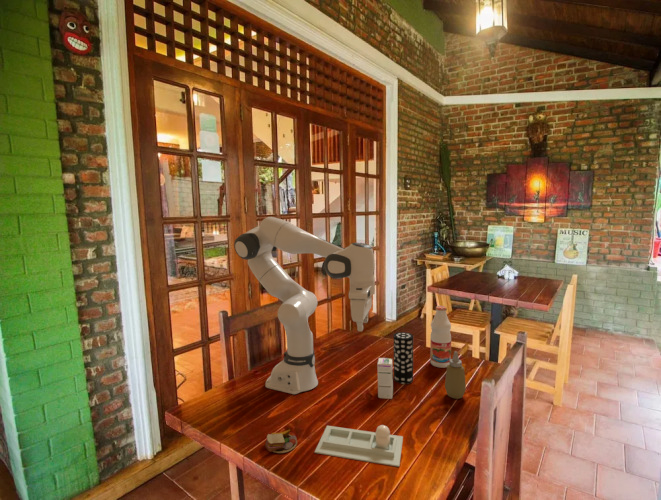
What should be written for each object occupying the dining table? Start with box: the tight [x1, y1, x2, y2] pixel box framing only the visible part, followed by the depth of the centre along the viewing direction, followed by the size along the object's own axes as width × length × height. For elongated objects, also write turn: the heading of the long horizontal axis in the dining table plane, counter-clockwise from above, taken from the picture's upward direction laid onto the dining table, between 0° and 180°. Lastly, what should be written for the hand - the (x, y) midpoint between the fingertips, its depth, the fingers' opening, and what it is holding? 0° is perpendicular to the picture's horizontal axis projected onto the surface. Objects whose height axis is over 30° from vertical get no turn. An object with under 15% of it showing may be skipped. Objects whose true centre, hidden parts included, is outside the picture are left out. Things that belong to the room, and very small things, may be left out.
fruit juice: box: [429, 305, 452, 369], centre depth 173 cm, size 9×9×28 cm
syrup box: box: [376, 357, 394, 400], centre depth 146 cm, size 6×6×14 cm
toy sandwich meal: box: [265, 429, 298, 454], centre depth 117 cm, size 9×10×4 cm
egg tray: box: [314, 425, 404, 468], centre depth 116 cm, size 26×14×2 cm, turn 74°
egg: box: [375, 424, 391, 450], centre depth 114 cm, size 4×4×7 cm
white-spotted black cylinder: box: [393, 331, 414, 385], centre depth 158 cm, size 8×8×20 cm
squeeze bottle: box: [444, 351, 467, 400], centre depth 144 cm, size 8×8×18 cm
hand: (362, 326), depth 130 cm, fingers open, 8 cm apart
